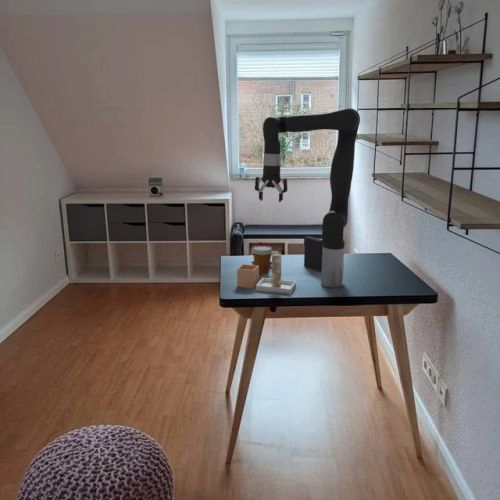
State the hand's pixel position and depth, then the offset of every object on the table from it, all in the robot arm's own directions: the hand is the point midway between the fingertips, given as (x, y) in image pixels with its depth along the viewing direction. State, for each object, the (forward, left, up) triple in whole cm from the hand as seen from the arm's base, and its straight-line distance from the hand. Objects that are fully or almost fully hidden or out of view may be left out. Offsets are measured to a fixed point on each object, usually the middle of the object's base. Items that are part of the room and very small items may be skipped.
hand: (270, 201), depth 223 cm
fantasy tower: (+8, -17, -36) cm, 40 cm away
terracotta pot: (+6, +13, -35) cm, 38 cm away
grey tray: (-7, +14, -35) cm, 39 cm away
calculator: (-17, -21, -36) cm, 45 cm away
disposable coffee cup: (+5, -6, -36) cm, 36 cm away
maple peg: (-7, +14, -35) cm, 38 cm away
